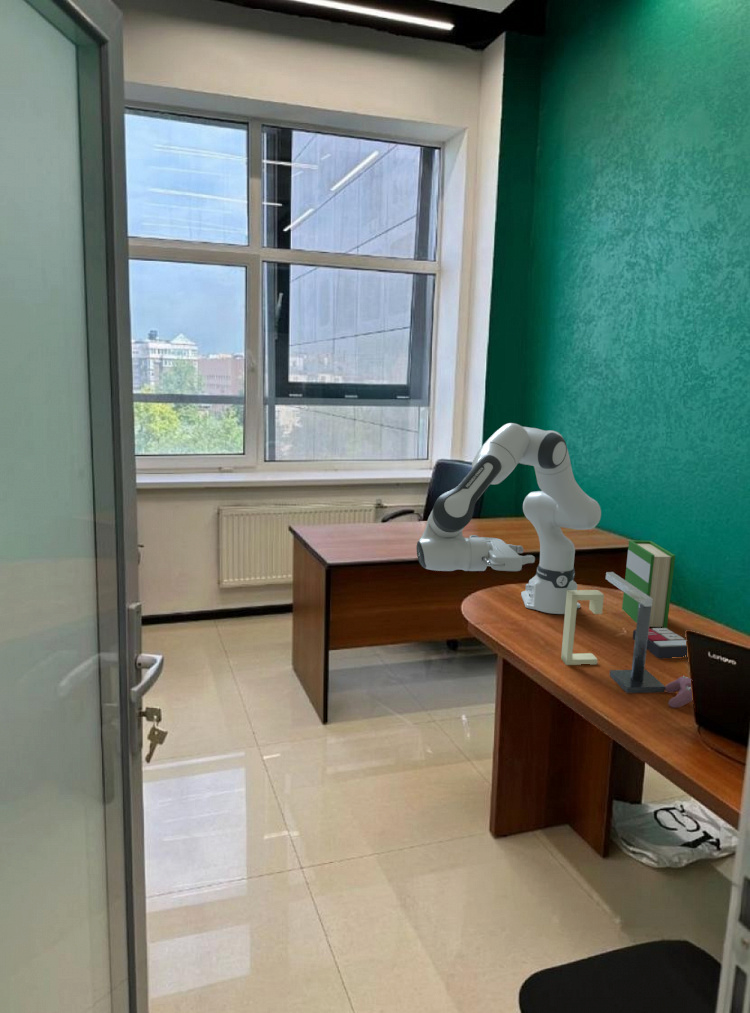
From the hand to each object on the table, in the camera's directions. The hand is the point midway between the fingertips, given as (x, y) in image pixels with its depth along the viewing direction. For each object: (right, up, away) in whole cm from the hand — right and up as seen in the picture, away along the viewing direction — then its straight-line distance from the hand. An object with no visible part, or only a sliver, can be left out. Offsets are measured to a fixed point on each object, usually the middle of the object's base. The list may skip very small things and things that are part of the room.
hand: (528, 554), depth 188 cm
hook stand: (+25, -31, 0) cm, 40 cm away
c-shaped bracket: (+15, -30, +5) cm, 34 cm away
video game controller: (+34, -35, -16) cm, 51 cm away
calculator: (+43, -29, +17) cm, 54 cm away
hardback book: (+46, -24, +39) cm, 65 cm away
